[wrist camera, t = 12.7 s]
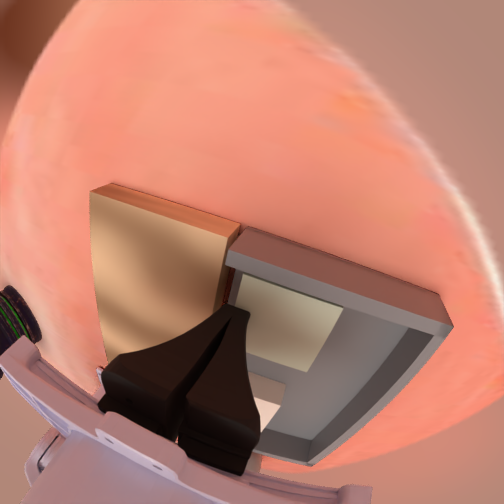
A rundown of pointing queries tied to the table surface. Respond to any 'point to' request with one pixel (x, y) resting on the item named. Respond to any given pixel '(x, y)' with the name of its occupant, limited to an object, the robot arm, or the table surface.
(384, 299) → the box
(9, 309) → the storage jar
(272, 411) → the cream tile
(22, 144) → the table surface
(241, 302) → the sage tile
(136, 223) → the oak board
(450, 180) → the table surface
